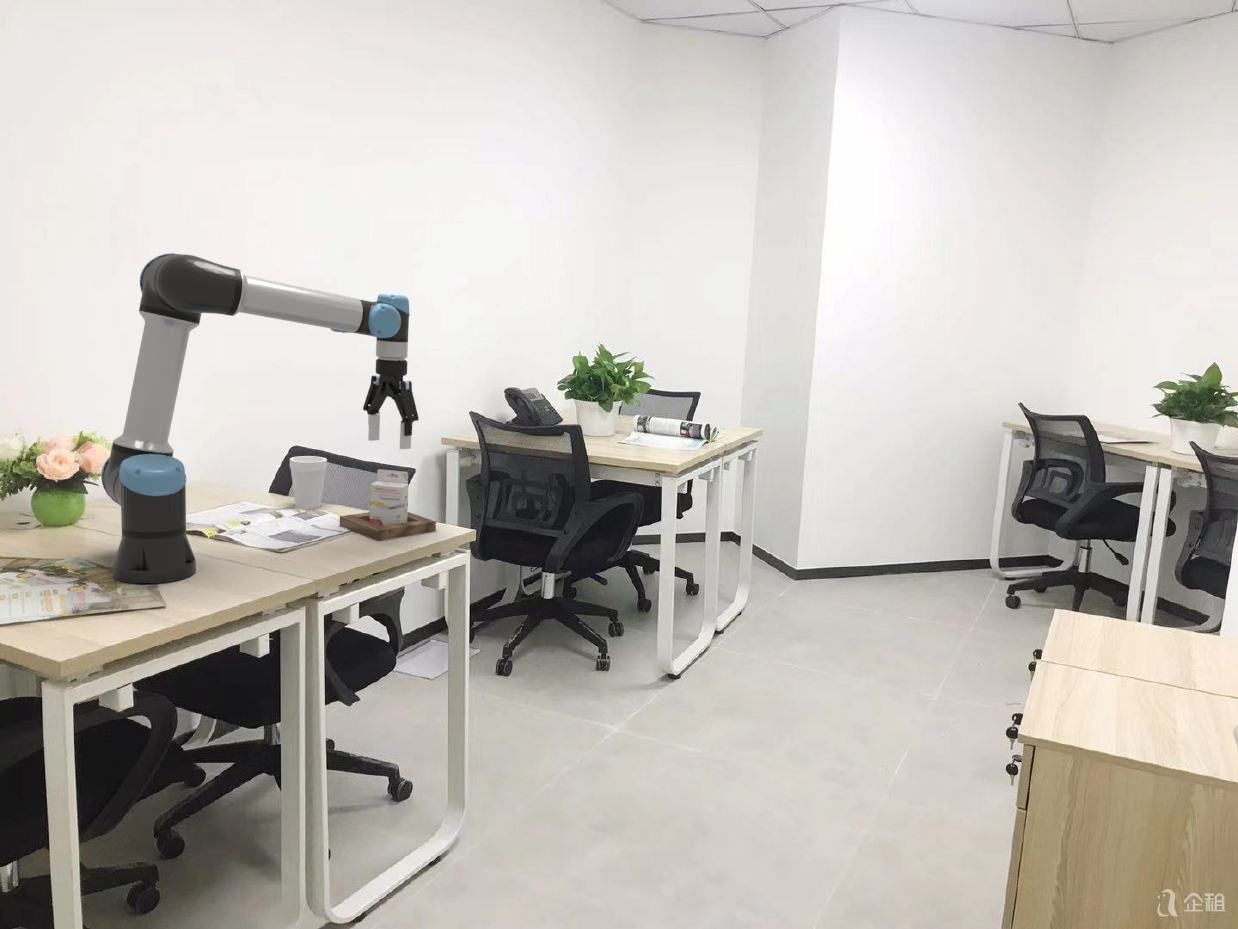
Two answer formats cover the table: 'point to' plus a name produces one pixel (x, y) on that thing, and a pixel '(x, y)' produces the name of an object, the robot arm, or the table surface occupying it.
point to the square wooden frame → (376, 532)
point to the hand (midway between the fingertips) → (389, 444)
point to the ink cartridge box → (389, 498)
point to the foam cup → (308, 480)
